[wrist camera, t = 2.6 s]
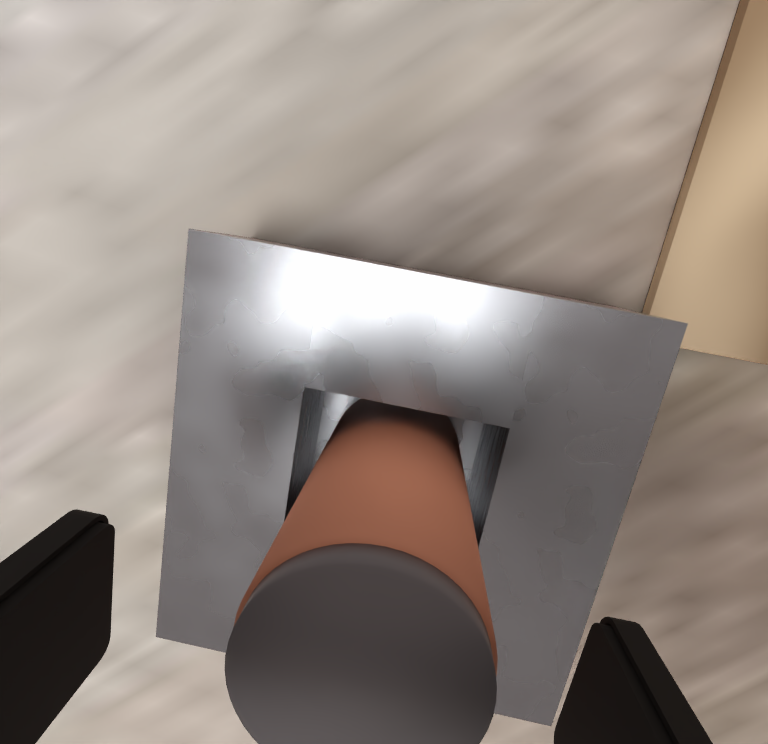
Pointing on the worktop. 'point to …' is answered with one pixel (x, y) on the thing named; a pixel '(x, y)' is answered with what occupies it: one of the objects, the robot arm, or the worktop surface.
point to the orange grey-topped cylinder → (370, 597)
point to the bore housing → (416, 391)
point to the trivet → (724, 209)
